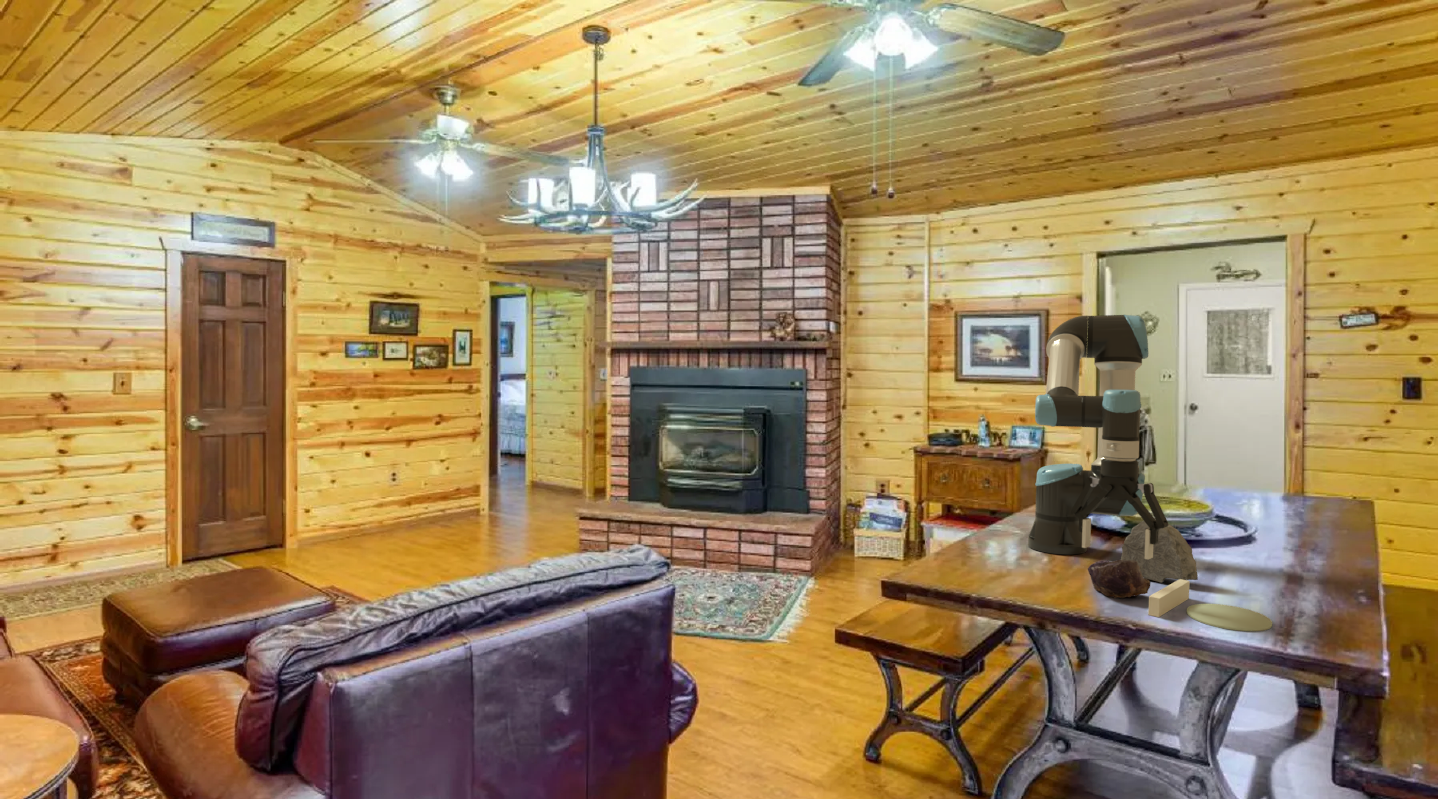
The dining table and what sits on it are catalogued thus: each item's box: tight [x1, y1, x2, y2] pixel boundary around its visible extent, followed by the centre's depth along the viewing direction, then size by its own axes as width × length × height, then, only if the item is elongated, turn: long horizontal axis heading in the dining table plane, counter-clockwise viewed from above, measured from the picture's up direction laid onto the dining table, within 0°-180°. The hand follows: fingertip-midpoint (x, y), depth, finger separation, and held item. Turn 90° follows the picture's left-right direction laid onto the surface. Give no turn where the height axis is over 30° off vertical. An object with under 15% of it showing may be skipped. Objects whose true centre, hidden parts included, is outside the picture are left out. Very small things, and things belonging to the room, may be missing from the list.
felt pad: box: [1186, 603, 1273, 632], centre depth 167 cm, size 15×15×1 cm
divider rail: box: [1147, 579, 1191, 618], centre depth 174 cm, size 2×18×4 cm, turn 132°
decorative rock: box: [1120, 517, 1199, 583], centre depth 193 cm, size 16×7×15 cm, turn 43°
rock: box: [1087, 559, 1151, 599], centre depth 182 cm, size 12×9×10 cm
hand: (1116, 552), depth 181 cm, fingers open, 13 cm apart
